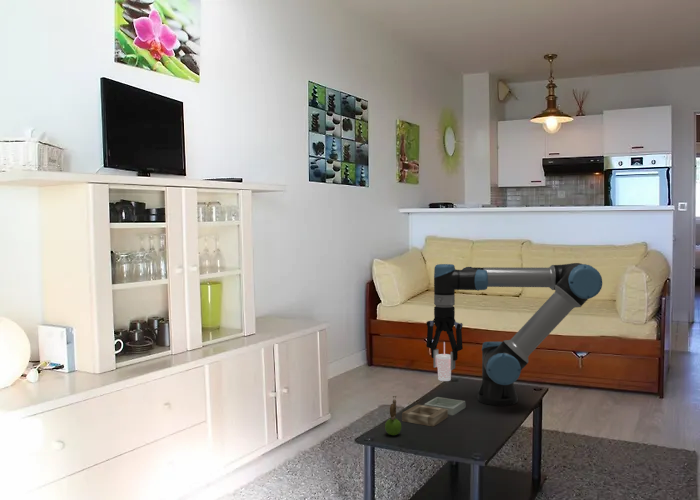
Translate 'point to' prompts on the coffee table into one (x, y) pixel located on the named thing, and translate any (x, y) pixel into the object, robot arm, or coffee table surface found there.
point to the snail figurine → (393, 421)
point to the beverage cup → (444, 366)
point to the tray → (447, 404)
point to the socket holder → (425, 415)
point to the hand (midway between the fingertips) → (444, 367)
